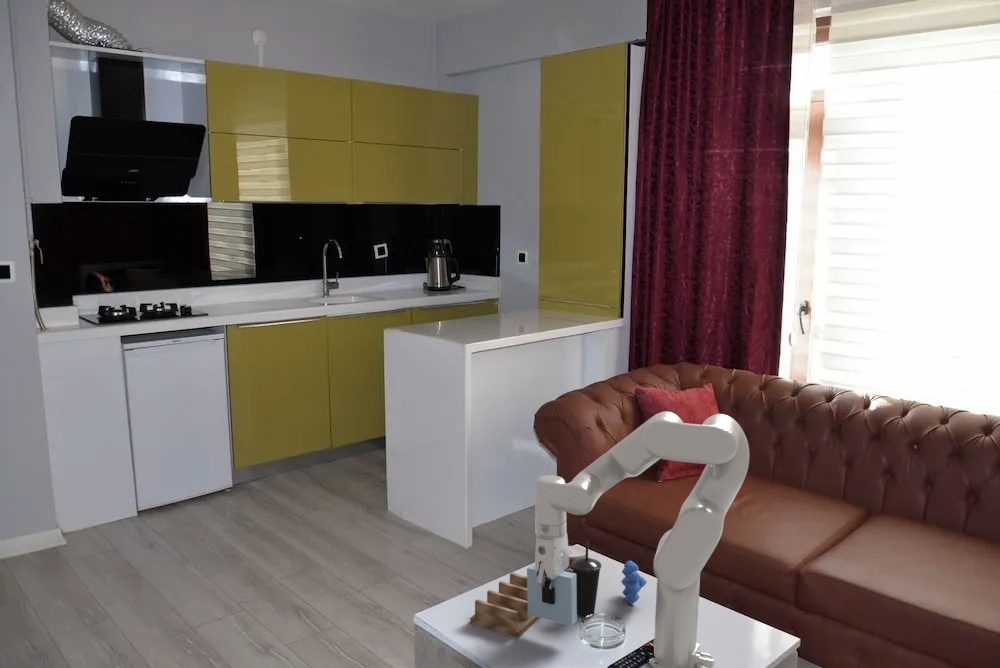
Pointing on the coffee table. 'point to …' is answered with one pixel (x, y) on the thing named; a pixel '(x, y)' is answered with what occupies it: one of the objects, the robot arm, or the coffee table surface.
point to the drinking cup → (586, 583)
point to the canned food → (575, 556)
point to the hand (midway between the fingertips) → (551, 599)
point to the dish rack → (505, 608)
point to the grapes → (632, 582)
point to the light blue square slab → (564, 598)
